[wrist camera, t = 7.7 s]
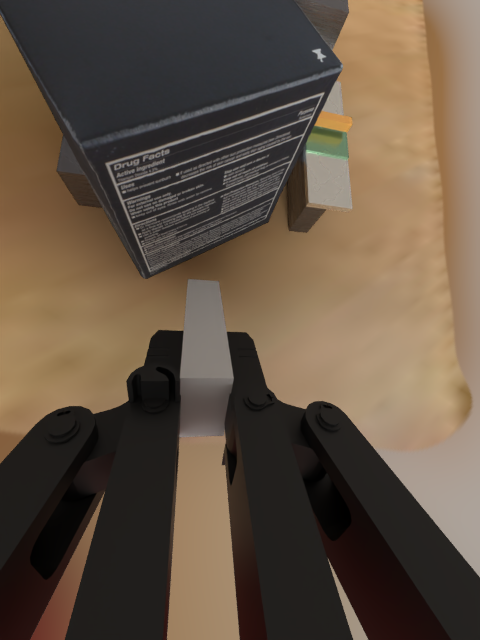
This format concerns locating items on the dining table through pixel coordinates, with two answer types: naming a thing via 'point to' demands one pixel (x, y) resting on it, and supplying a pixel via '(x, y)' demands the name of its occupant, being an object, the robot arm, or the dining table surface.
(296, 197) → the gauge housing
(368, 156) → the dining table surface
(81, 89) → the small box
